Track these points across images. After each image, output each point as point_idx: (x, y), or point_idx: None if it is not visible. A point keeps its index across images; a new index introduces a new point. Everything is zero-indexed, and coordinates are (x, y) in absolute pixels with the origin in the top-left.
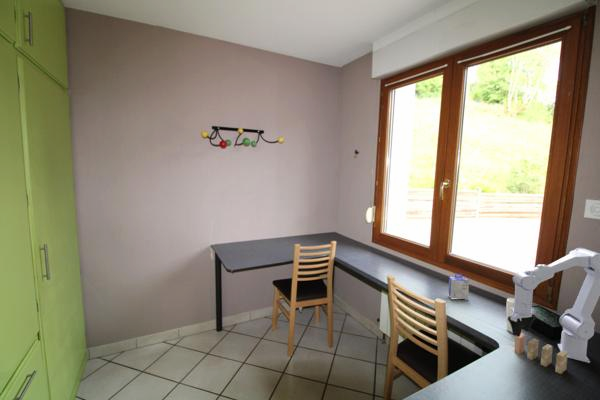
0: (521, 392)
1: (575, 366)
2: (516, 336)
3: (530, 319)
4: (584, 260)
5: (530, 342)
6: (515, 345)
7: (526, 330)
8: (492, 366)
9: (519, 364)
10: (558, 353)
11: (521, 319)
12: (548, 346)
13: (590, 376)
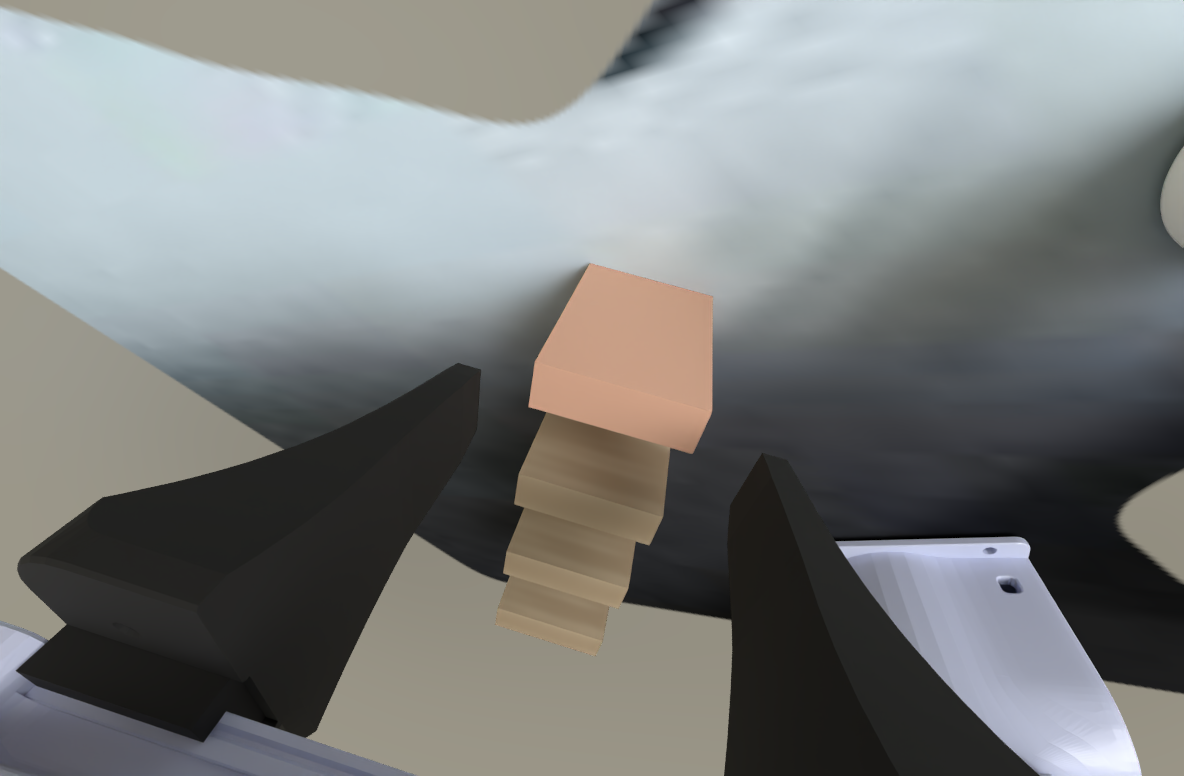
0: (155, 357)
1: (706, 568)
2: (536, 371)
3: (739, 772)
4: None
5: (520, 488)
6: (569, 302)
7: (737, 500)
8: (168, 152)
9: (417, 321)
10: (519, 617)
11: (813, 605)
12: (580, 587)
13: (644, 597)
